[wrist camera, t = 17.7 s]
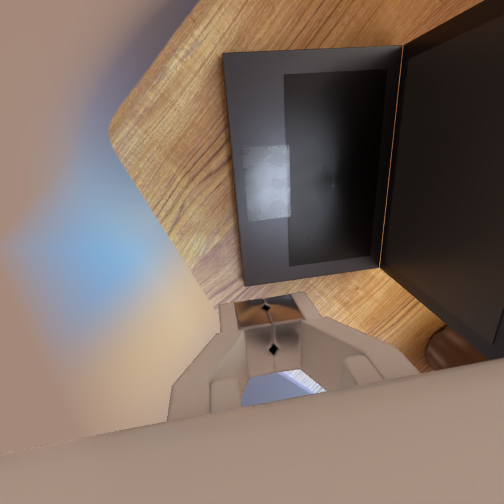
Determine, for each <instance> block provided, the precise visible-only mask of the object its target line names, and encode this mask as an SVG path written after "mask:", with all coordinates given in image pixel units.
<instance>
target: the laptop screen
mask: <svg viewBox="0 0 504 504" xmlns="http://www.w3.org/2000/svg"><path fill="white" fill-rule="evenodd" d="M380 268H381V269H382V270H383V271H384V272H385V273H387V274H388V275H389V276H390V277H391V278H393V279H394V280H395V281H396V282H397V283H399V284H400V285H401V286H402V287H403V288H404V289H406V290H407V291H408V292H409V293H410V294H412V295H413V296H414V297H415V298H416V299H417V300H419V301H420V302H421V303H422V304H423V305H425V306H426V307H427V308H428V309H429V310H431V311H432V312H433V313H434V314H435V315H436V316H438V317H439V318H440V319H441V320H442V321H444V322H445V323H446V324H447V325H448V326H449V327H451V328H452V329H453V330H454V331H455V332H457V333H458V334H459V335H460V336H461V337H463V338H464V339H465V340H466V341H467V342H468V343H470V344H471V345H472V346H473V347H474V348H476V349H477V350H478V351H479V352H480V353H481V354H483V355H484V356H485V357H486V358H487V359H489V360H494V359H499V358H504V0H484V1H482V2H481V3H479V4H477V5H475V6H473V7H472V8H470V9H468V10H466V11H464V12H463V13H461V14H459V15H457V16H455V17H454V18H452V19H450V20H448V21H446V22H445V23H443V24H441V25H439V26H437V27H436V28H434V29H432V30H430V31H428V32H427V33H425V34H423V35H421V36H419V37H418V38H416V39H414V40H412V41H410V42H409V43H407V44H405V45H404V48H403V57H402V67H401V76H400V85H399V94H398V104H397V113H396V122H395V132H394V141H393V150H392V159H391V169H390V178H389V187H388V197H387V206H386V215H385V224H384V234H383V243H382V252H381V262H380Z"/></svg>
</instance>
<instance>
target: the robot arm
mask: <svg viewBox="0 0 504 504" xmlns="http://www.w3.org/2000/svg"><path fill="white" fill-rule="evenodd" d="M219 319H220V332H221V333H218V334H216V335H215V336H214V337H213V338H212V340H211V341H210V342H209V343H208V344H207V345H206V346H205V348H204V349H203V350H202V351H201V352H200V353H199V355H198V356H197V357H196V358H195V359H194V361H193V362H192V363H191V364H190V365H189V366H188V368H187V369H186V370H185V371H184V372H183V374H182V375H181V376H180V377H179V378H178V379H177V380H176V382H175V383H174V384H173V385H172V389H171V396H170V403H169V410H168V416H167V422H162V423H157V424H152V425H146V426H141V427H136V428H130V429H125V430H120V431H115V432H109V433H104V434H99V435H93V436H89V437H83V438H78V439H73V440H67V441H62V442H57V443H51V444H46V445H41V446H35V447H30V448H25V449H20V450H14V451H9V452H4V453H0V504H504V358H499V359H494V360H489V361H484V362H479V363H473V364H468V365H463V366H458V367H452V368H447V369H442V370H436V371H431V372H426V373H420V372H419V371H418V370H417V369H416V368H415V366H414V365H413V364H412V363H411V362H410V361H409V360H408V359H407V358H406V357H405V356H404V355H403V354H402V353H401V351H400V350H399V349H398V348H397V347H395V346H393V345H391V344H388V343H386V342H384V341H382V340H379V339H377V338H375V337H372V336H370V335H368V334H365V333H363V332H361V331H359V330H356V329H354V328H352V327H349V326H347V325H345V324H342V323H340V322H338V321H336V320H333V319H331V318H329V317H322V316H321V315H320V313H319V312H318V310H317V309H316V307H315V306H314V305H313V303H312V302H311V300H310V299H309V297H308V296H307V294H306V293H305V292H299V293H294V294H288V295H282V296H276V297H271V298H265V299H255V300H247V301H239V302H234V303H233V302H230V303H224V304H219ZM296 369H301V370H302V371H303V372H304V373H305V374H307V375H308V376H309V377H310V378H312V379H313V380H314V381H315V382H316V383H318V384H319V385H320V386H321V387H323V388H324V389H325V390H326V392H320V393H315V394H310V395H305V396H300V397H295V398H289V399H284V400H279V401H273V402H268V403H263V404H258V405H252V406H247V407H241V401H240V399H241V397H242V394H243V392H244V390H245V387H246V385H247V383H248V381H249V378H251V377H256V376H261V375H266V374H270V373H276V372H283V371H290V370H296Z"/></svg>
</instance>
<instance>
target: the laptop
mask: <svg viewBox="0 0 504 504" xmlns="http://www.w3.org/2000/svg"><path fill="white" fill-rule="evenodd" d="M401 55H402V45H397V46H374V47H350V48H327V49H303V50H280V51H256V52H233V53H222V66H223V77H224V87H225V97H226V108H227V118H228V128H229V139H230V149H231V159H232V170H233V180H234V190H235V201H236V211H237V221H238V232H239V242H240V252H241V263H242V273H243V282H244V286H245V287H246V286H254V285H261V284H268V283H275V282H282V281H289V280H296V279H303V278H310V277H317V276H324V275H331V274H338V273H345V272H352V271H359V270H366V269H374V268H379V262H380V253H381V243H382V234H383V224H384V215H385V206H386V196H387V187H388V177H389V168H390V159H391V149H392V140H393V130H394V121H395V111H396V102H397V93H398V83H399V74H400V64H401Z"/></svg>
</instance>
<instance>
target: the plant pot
mask: <svg viewBox="0 0 504 504" xmlns="http://www.w3.org/2000/svg"><path fill="white" fill-rule="evenodd" d="M425 357H426V360H427V362H428V363H429V365H430V366H431V367H432V368H433V369H434V370H435V371H436V370H442V369H447V368H452V367H458V366H463V365H468V364H473V363H479V362H484V361H489V359H487V358H486V357H485V356H484V355H483V354H481V353H480V352H479V351H478V350H477V349H476V348H474V347H473V346H472V345H471V344H470V343H468V342H467V341H466V340H465V339H464V338H463V337H461V336H460V335H459V334H458V333H457V332H455V331H454V330H453V329H452V328H451V327H449V326H448V325H446V326H445V328H444V330H442V331H441V332H437V333H436V334H435V335H434V336H433V337H432V338H431V340H430V342H429V343H428V346H427V348H426V356H425Z"/></svg>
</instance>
